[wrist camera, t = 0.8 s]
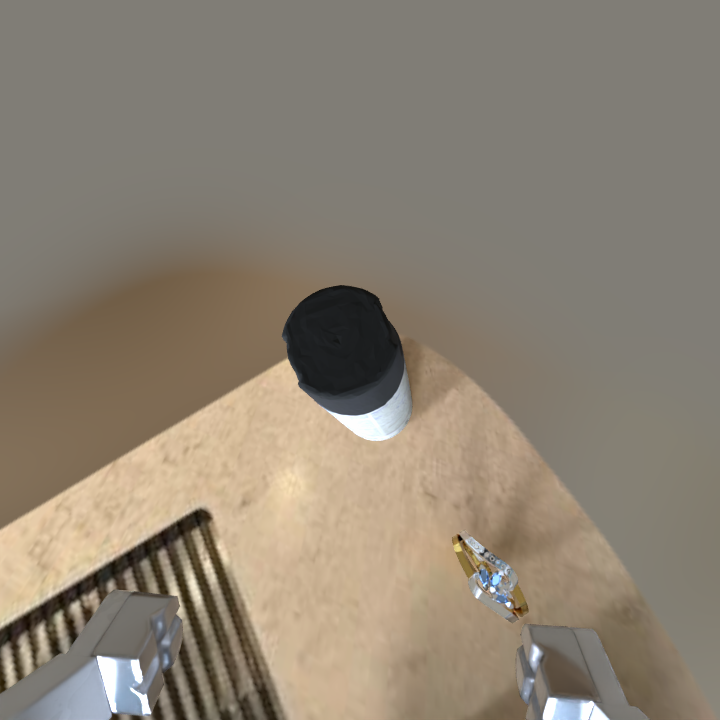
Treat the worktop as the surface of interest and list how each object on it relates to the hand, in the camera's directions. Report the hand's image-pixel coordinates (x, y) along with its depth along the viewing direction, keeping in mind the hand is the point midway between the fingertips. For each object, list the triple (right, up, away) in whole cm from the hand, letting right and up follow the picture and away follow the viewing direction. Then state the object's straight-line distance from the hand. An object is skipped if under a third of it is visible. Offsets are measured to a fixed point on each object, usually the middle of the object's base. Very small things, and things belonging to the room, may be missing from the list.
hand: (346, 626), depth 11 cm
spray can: (+2, +2, +33) cm, 33 cm away
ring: (+11, -11, +27) cm, 31 cm away
